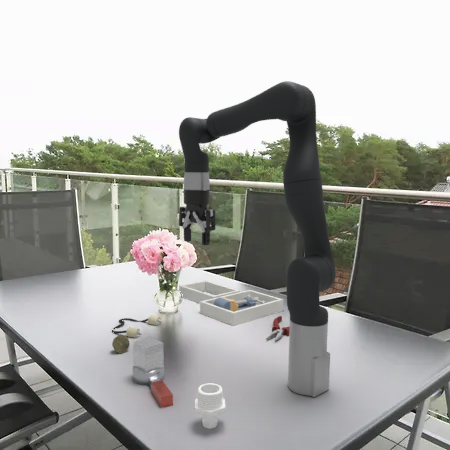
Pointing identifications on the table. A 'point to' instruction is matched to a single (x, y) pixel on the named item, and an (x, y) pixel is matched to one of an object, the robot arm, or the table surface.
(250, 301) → the vise
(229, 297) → the white tray
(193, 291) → the grey tray
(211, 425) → the pipe fitting
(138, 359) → the pale grey cube
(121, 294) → the table surface
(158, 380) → the ratchet
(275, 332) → the pliers
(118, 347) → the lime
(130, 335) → the cable
